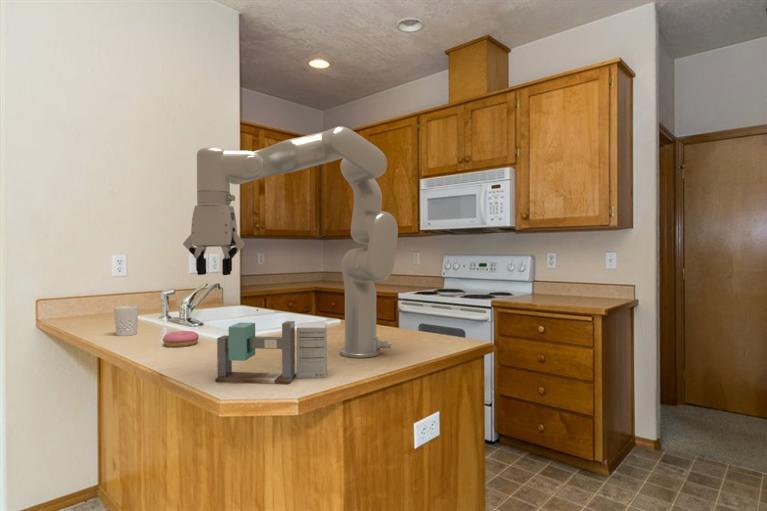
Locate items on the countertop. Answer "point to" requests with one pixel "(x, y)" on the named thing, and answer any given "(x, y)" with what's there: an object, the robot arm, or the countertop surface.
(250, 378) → the board
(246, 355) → the teal sliding block
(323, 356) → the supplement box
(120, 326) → the white cup
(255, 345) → the rail
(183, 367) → the countertop surface
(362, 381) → the countertop surface
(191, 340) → the doughnut
